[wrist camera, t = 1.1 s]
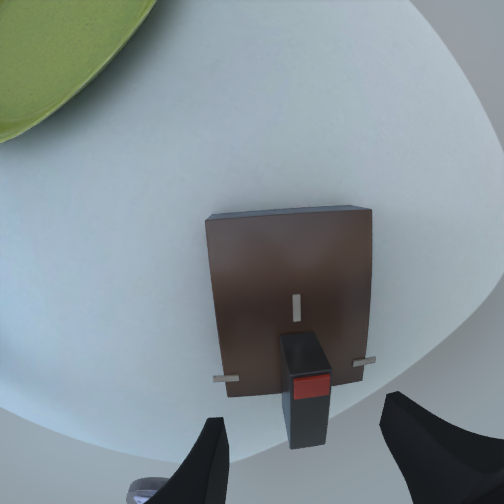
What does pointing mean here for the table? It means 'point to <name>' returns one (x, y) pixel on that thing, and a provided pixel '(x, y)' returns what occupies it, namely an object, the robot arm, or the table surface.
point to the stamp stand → (290, 290)
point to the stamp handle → (305, 389)
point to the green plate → (57, 53)
